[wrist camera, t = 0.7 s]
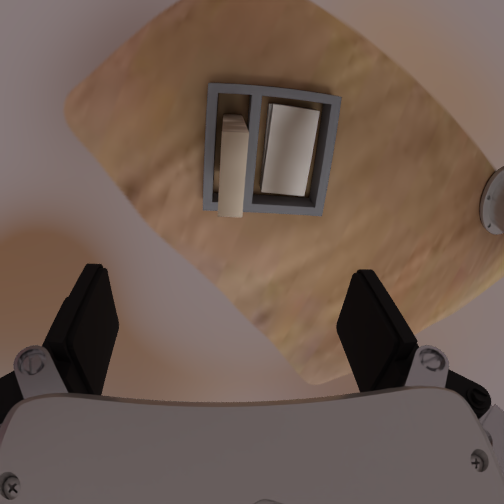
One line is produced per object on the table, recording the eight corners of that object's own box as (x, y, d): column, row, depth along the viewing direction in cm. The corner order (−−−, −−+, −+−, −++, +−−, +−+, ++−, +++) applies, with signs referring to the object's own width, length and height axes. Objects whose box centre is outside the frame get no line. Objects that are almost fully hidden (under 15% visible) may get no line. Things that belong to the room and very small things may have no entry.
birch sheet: (241, 114, 33) (249, 132, 22) (237, 173, 36) (242, 217, 26) (223, 113, 32) (222, 131, 22) (219, 172, 36) (217, 216, 26)
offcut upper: (315, 109, 32) (319, 111, 31) (301, 191, 37) (304, 196, 36) (271, 102, 31) (273, 104, 30) (260, 187, 37) (261, 192, 35)
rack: (332, 95, 32) (341, 97, 29) (315, 205, 39) (321, 216, 37) (209, 82, 30) (208, 83, 28) (204, 200, 38) (202, 210, 35)
